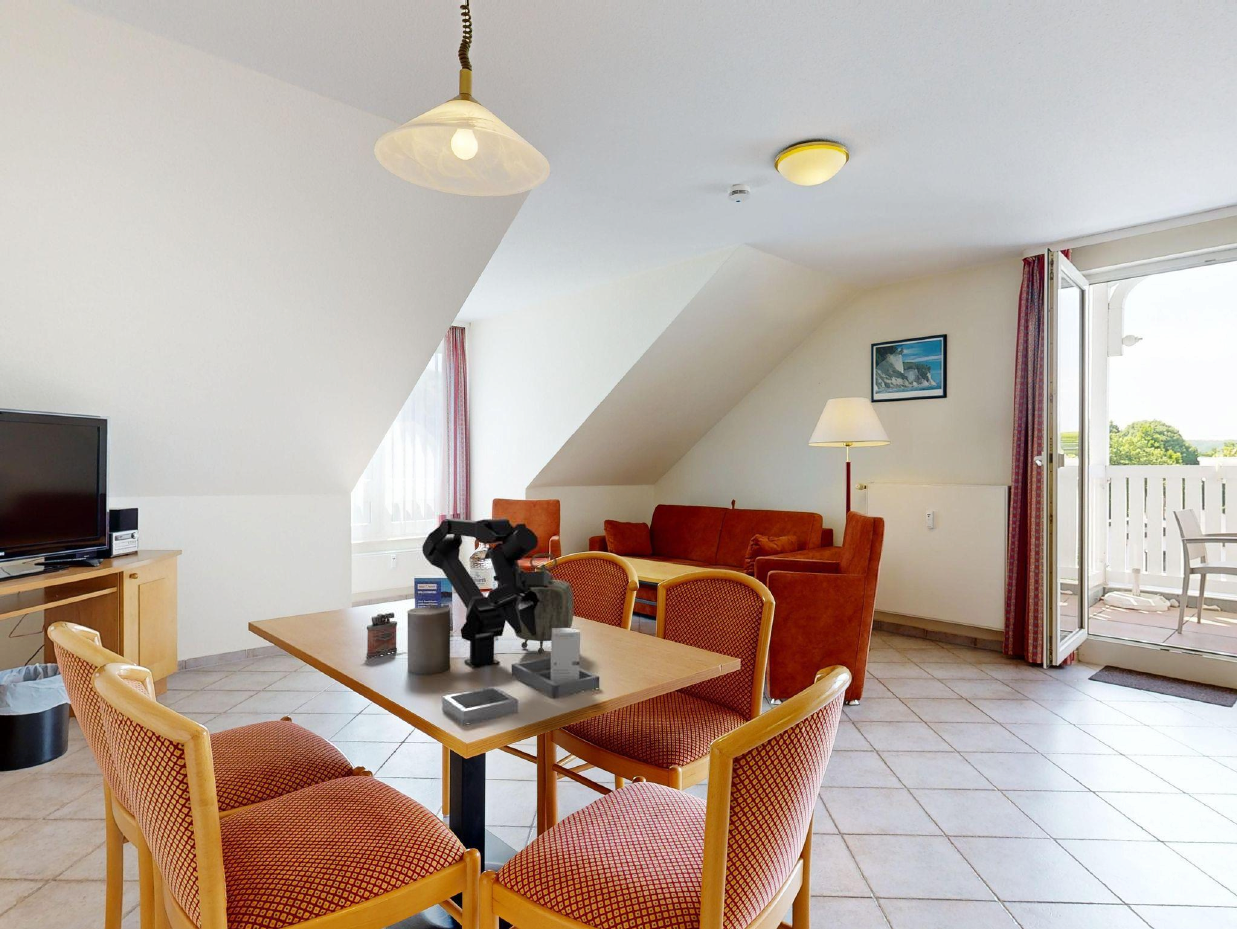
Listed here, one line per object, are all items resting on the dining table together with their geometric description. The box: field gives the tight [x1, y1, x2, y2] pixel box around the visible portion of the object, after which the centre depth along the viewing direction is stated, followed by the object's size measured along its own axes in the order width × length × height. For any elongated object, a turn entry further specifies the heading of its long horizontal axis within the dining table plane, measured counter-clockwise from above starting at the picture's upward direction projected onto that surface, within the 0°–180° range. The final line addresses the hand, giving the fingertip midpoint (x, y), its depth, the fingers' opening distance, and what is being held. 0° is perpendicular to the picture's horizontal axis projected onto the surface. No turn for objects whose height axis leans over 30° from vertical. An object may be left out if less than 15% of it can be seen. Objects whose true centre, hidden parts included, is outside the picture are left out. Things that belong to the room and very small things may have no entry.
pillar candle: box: [407, 604, 451, 675], centre depth 158 cm, size 10×10×15 cm
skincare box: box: [550, 627, 581, 684], centre depth 146 cm, size 6×4×12 cm
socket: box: [441, 685, 519, 726], centre depth 130 cm, size 10×11×2 cm
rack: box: [511, 656, 600, 699], centre depth 149 cm, size 19×11×2 cm, turn 36°
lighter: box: [366, 612, 398, 658], centre depth 171 cm, size 8×3×10 cm, turn 143°
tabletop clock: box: [513, 553, 575, 655], centre depth 174 cm, size 14×9×25 cm, turn 84°
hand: (527, 634), depth 151 cm, fingers open, 9 cm apart
